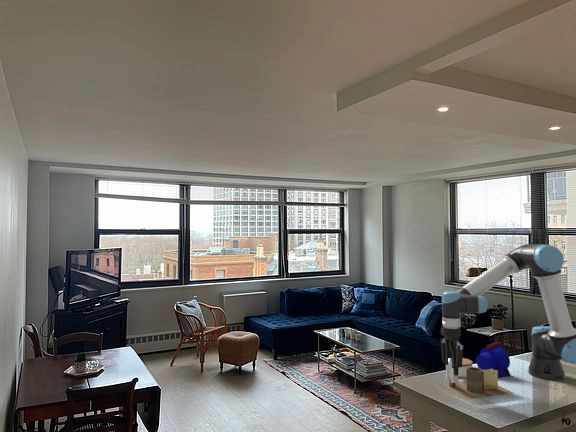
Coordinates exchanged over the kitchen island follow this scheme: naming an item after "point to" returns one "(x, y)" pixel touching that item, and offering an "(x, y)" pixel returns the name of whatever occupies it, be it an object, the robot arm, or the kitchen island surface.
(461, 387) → the jig
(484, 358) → the alarm clock
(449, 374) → the pin
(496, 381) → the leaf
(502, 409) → the kitchen island surface
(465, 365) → the lidded jar
